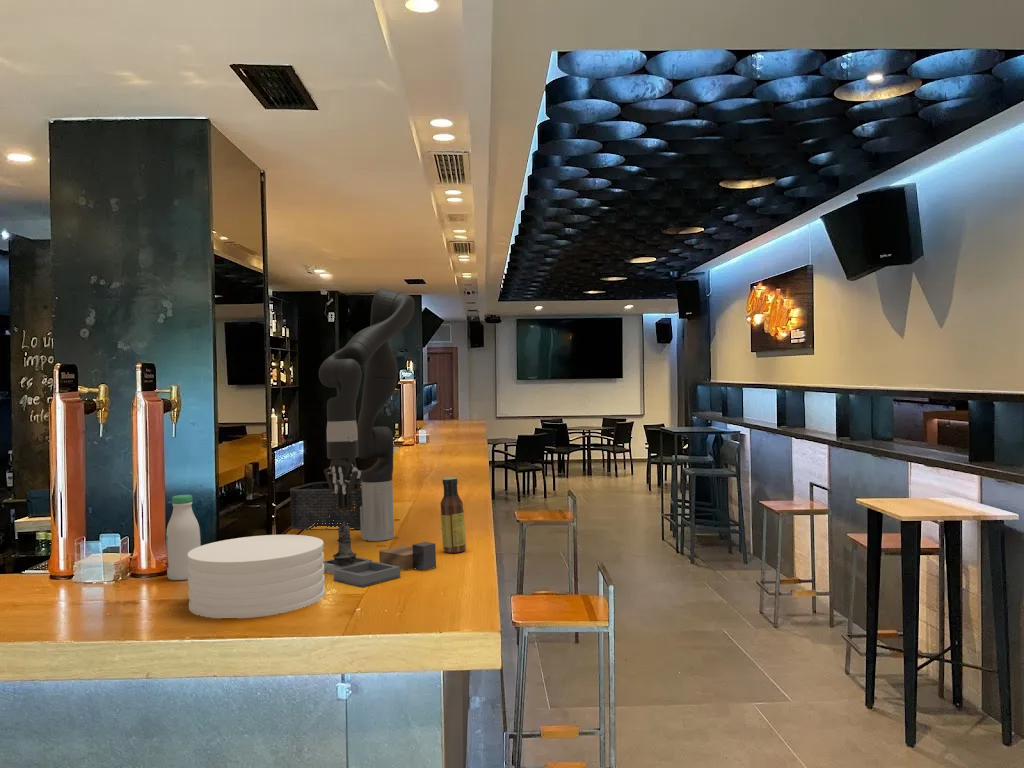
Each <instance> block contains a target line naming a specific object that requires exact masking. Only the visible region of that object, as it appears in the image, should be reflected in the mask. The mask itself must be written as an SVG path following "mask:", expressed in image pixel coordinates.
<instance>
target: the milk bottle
mask: <svg viewBox="0 0 1024 768" xmlns="http://www.w3.org/2000/svg"><path fill="white" fill-rule="evenodd" d="M171 502H172V504H171V506H172V507H173V508H172V513H171V516H170V518H169V521H168V523H167V526H166V527H167V528H166V537H165V539H166V542H165V544H166V546H165V547H166V573H167V574H166V575H167V578H168V580H170V581H185V580H187V581H188V577H189V576H190V575H189V574H188V565H189V564H190V563H189V562H188V560H187V554H188V552H189V551H191V550H192V549H194V548H197V547H199V546H202V544H201V529H200V525H199V522H198V519H197V518H196V516H195V513H194V511H193V507H192V504H193V495H192V494H179V495H174V496H172V497H171Z"/></svg>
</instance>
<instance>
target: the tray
mask: <svg viewBox="0 0 1024 768" xmlns="http://www.w3.org/2000/svg"><path fill="white" fill-rule="evenodd" d="M398 577H400V578H401V570H400V567H399V566H394V565H389V564H384V563H380V561H374V560H372V561H368V562H364V563H360V564H356V565H351V566H347V567H343V568H339V569H335V570H334V574H333V581H336V582H339V583H343V584H348V585H353V586H357V587H361V588H366V587H370V586H372V584H374V585H376V584H375V583H377V584H380V583H379V582H381V583H384V582H383V581H385V582H388V581H387V580H389V581H391V579H392V580H395V579H394V578H396V579H399V578H398ZM369 585H370V586H369Z"/></svg>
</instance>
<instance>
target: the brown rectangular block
mask: <svg viewBox="0 0 1024 768" xmlns="http://www.w3.org/2000/svg"><path fill="white" fill-rule="evenodd" d="M378 553H379V554H378V555H379V556H378V557H379V561H378V562H379V563H384V564H389V565H394V566H399V567H400V569H403V570H402V571H404V570H407V571H409V570H408V569H411V568H413V548H412V546H407V545H400V546H395V547H391V548H386V549H383V550H379V551H378ZM411 570H412V569H411Z"/></svg>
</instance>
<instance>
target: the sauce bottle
mask: <svg viewBox="0 0 1024 768" xmlns="http://www.w3.org/2000/svg"><path fill="white" fill-rule="evenodd" d="M458 482H459V481H458V478H457V477H444V478H442V485H443V497H442V499H441V501H440V520H441V521H440V522H441V535H442V537H441V539H442V548H443V551H444V552H445V553H446V554H449V553H450V554H457V553H458V554H459V553H462V552H465V550H466V549H467V546H466V544H467V541H466V540H467V539H466V530H465V529H466V527H465V525H466V524H465V513H464V504H463V503H464V502H463V500H462V499H461V497H460V496H459V491H458Z"/></svg>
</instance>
